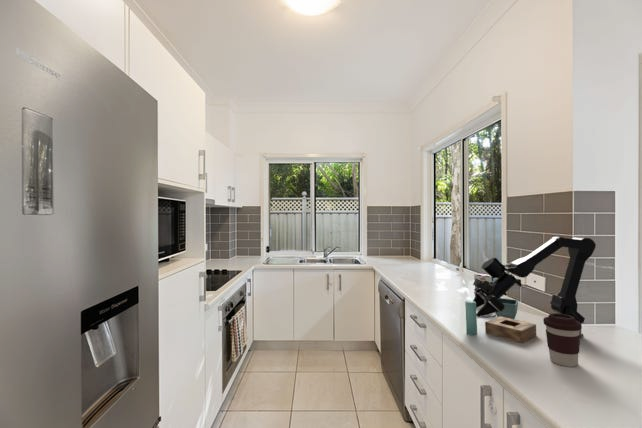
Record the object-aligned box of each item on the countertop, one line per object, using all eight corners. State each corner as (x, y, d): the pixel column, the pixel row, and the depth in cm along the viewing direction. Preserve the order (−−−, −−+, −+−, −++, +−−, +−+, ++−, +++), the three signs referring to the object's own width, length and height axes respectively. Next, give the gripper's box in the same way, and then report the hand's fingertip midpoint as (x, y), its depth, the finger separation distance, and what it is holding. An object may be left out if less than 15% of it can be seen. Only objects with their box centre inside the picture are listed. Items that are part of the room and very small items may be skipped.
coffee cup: (546, 353, 109) (544, 310, 110) (583, 360, 103) (581, 314, 103) (544, 363, 102) (541, 317, 102) (583, 372, 95) (581, 323, 96)
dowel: (479, 333, 129) (477, 302, 129) (473, 336, 127) (472, 304, 127) (470, 331, 132) (468, 300, 132) (464, 333, 130) (463, 302, 130)
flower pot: (517, 324, 138) (516, 304, 138) (494, 321, 143) (493, 301, 143) (519, 319, 145) (518, 299, 145) (497, 316, 150) (496, 297, 150)
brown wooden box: (536, 335, 125) (535, 324, 125) (522, 343, 118) (521, 331, 118) (500, 326, 136) (499, 316, 137) (485, 332, 130) (485, 321, 130)
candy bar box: (500, 307, 164) (498, 275, 164) (493, 308, 162) (492, 276, 162) (481, 302, 174) (480, 272, 174) (475, 303, 172) (473, 273, 172)
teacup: (496, 318, 148) (496, 308, 148) (473, 316, 152) (472, 306, 152) (494, 312, 157) (494, 302, 157) (472, 310, 161) (472, 301, 161)
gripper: (478, 268, 138) (452, 293, 140) (494, 276, 120) (465, 304, 121) (498, 286, 137) (472, 311, 138) (517, 297, 118) (487, 325, 120)
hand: (473, 312), depth 129 cm, fingers open, 9 cm apart
